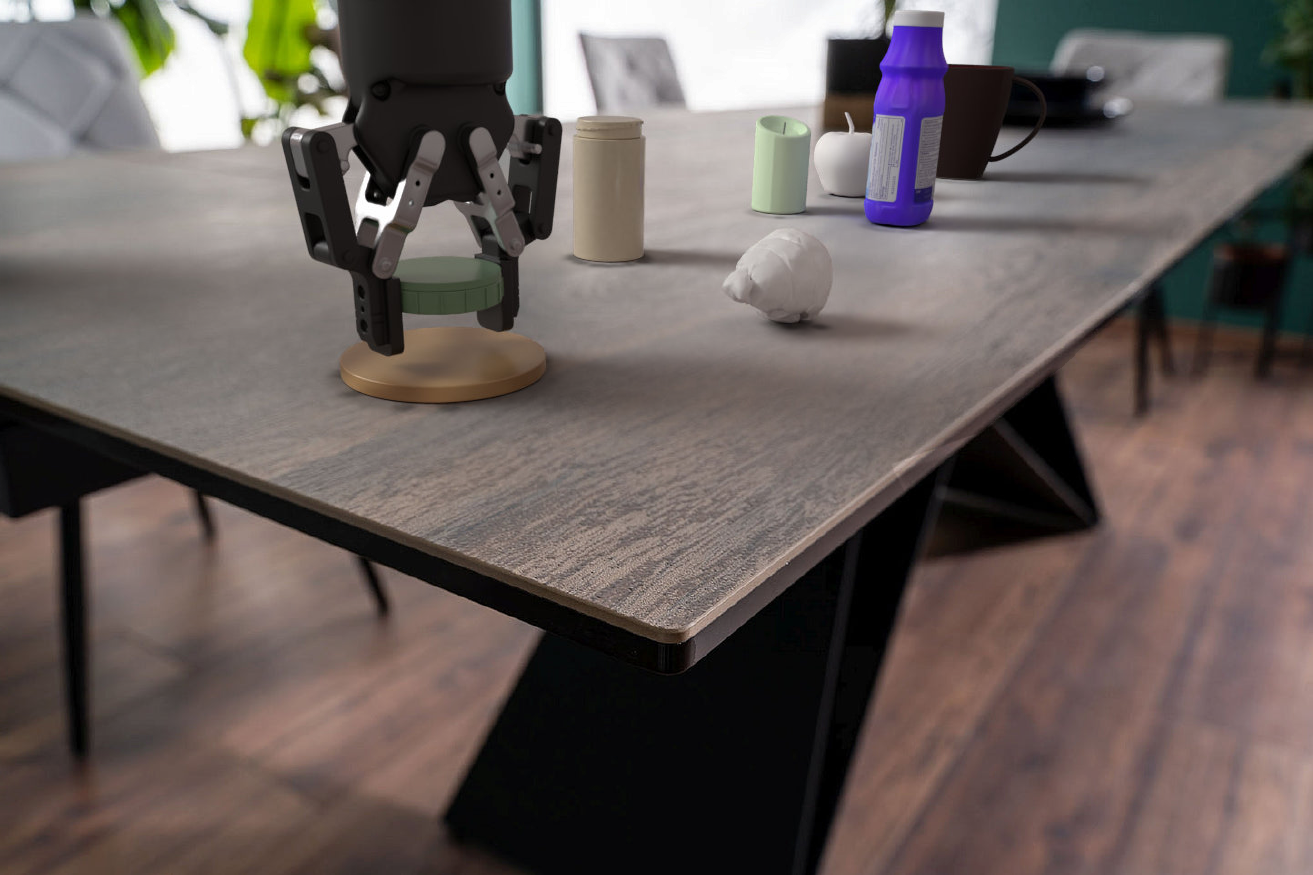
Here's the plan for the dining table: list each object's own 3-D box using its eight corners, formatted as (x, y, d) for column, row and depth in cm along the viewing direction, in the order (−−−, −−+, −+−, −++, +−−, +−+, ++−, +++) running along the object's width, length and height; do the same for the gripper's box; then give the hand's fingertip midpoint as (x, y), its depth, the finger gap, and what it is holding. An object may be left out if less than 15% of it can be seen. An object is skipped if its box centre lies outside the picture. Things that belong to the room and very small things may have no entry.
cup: (915, 168, 130) (927, 62, 126) (1036, 175, 126) (1052, 67, 121) (905, 178, 121) (918, 65, 117) (1035, 187, 117) (1052, 71, 113)
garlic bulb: (697, 322, 63) (700, 229, 61) (769, 307, 66) (775, 218, 64) (763, 344, 59) (769, 245, 57) (836, 327, 63) (845, 233, 61)
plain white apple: (816, 187, 113) (822, 108, 110) (884, 191, 112) (892, 111, 109) (806, 197, 107) (812, 113, 104) (878, 202, 105) (887, 117, 102)
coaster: (315, 400, 49) (313, 384, 49) (369, 338, 58) (368, 324, 58) (535, 405, 49) (535, 388, 49) (554, 342, 58) (553, 328, 58)
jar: (574, 261, 77) (573, 121, 74) (572, 247, 82) (571, 114, 79) (646, 262, 78) (649, 122, 74) (640, 247, 83) (642, 115, 79)
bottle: (876, 212, 100) (896, 10, 93) (938, 218, 97) (962, 11, 91) (854, 224, 94) (873, 9, 87) (919, 231, 91) (944, 10, 85)
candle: (815, 212, 99) (822, 119, 96) (766, 215, 97) (772, 120, 94) (789, 204, 103) (795, 114, 100) (742, 206, 101) (746, 115, 98)
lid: (527, 301, 52) (526, 270, 52) (424, 322, 48) (422, 289, 48) (456, 279, 56) (454, 251, 56) (355, 298, 52) (353, 267, 52)
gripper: (315, -43, 40) (353, 390, 46) (604, -27, 49) (602, 329, 55) (224, -40, 45) (269, 351, 51) (502, -26, 54) (512, 301, 60)
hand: (443, 338), depth 53 cm, fingers closed on lid, 6 cm apart
